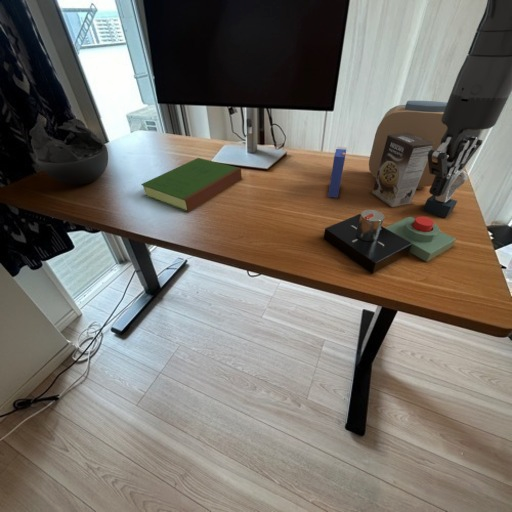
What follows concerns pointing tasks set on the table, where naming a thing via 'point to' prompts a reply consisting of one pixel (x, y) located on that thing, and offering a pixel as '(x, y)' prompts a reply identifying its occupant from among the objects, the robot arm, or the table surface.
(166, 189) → the hardcover book
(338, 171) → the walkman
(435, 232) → the button base
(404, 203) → the coffee box
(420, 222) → the button
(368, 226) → the knob
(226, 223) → the table surface
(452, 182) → the watch
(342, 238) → the dial panel
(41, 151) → the gray filled bowl
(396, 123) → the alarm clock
